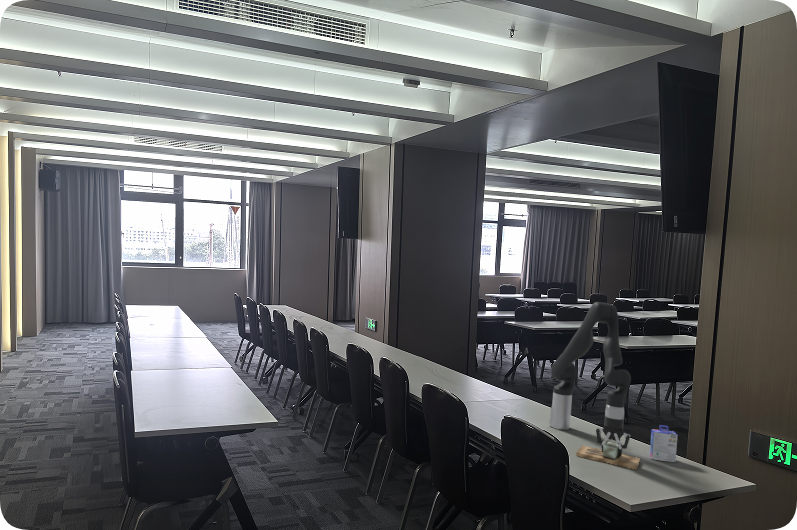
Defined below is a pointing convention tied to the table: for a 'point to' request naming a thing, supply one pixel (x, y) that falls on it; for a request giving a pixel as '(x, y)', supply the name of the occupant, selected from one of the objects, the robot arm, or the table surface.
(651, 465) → the table surface
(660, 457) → the ink cartridge box
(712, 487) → the table surface
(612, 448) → the block
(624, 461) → the tan wooden board
